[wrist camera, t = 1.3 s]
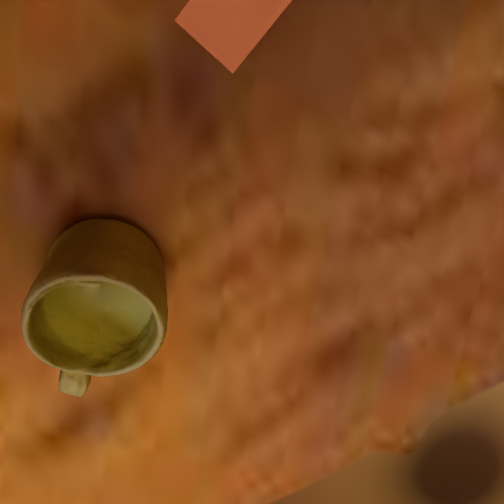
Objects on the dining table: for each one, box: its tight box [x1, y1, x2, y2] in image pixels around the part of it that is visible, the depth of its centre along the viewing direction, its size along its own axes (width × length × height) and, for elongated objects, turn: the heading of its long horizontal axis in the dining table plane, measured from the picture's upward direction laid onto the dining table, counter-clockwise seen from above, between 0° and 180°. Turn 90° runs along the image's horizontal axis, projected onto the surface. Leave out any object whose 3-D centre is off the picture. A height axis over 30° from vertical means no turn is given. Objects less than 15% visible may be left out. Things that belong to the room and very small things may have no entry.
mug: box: [21, 219, 168, 397], centre depth 35 cm, size 12×10×10 cm
